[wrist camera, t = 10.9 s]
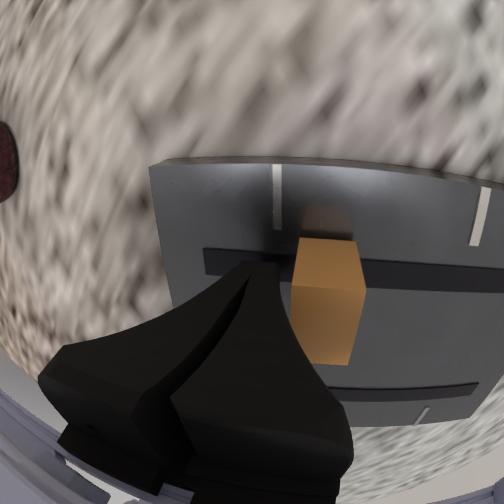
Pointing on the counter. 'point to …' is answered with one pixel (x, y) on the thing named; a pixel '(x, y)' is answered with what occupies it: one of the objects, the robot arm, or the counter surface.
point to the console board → (372, 262)
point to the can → (7, 163)
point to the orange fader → (327, 299)
